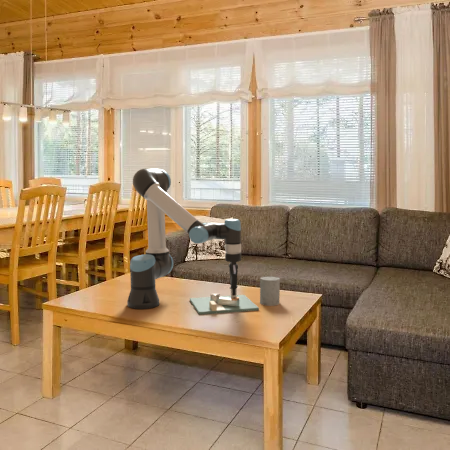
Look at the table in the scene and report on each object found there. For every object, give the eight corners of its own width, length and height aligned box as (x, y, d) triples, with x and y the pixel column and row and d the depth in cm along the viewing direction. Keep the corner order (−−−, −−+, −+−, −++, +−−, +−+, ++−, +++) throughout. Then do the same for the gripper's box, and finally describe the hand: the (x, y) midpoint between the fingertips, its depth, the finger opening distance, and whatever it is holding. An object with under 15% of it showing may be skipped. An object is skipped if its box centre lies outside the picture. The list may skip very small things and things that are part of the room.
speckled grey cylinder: (265, 306, 232) (265, 281, 231) (256, 301, 241) (256, 276, 239) (283, 304, 236) (283, 279, 234) (273, 299, 244) (274, 275, 243)
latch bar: (208, 303, 232) (208, 295, 231) (213, 301, 236) (213, 292, 235) (236, 307, 226) (236, 298, 225) (239, 304, 229) (239, 296, 229)
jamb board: (199, 314, 219) (199, 305, 218) (189, 300, 242) (189, 292, 242) (258, 310, 226) (258, 301, 225) (244, 297, 249) (244, 288, 248)
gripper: (224, 249, 234) (224, 297, 238) (226, 255, 221) (227, 305, 225) (239, 249, 235) (240, 297, 238) (242, 254, 222) (243, 305, 225)
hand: (233, 301), depth 231 cm, fingers closed
